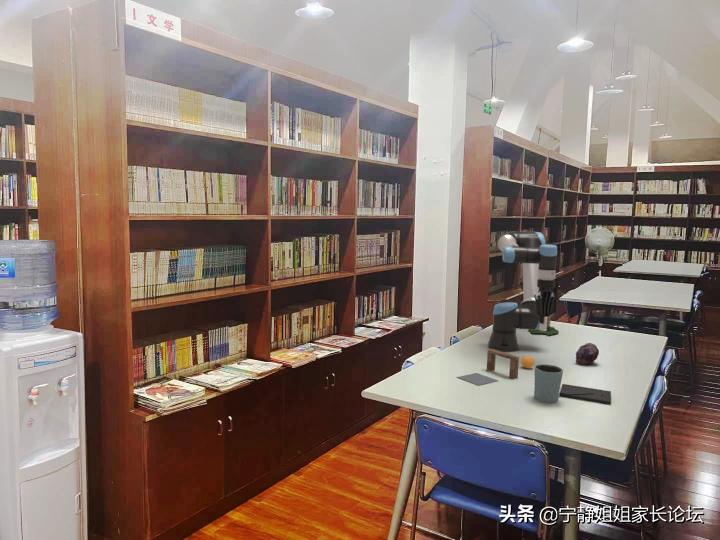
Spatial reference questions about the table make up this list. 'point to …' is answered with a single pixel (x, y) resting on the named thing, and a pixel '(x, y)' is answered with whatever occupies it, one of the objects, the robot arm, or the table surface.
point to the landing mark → (477, 379)
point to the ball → (527, 362)
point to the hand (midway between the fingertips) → (542, 330)
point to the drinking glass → (547, 383)
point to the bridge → (513, 359)
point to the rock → (587, 354)
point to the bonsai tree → (549, 329)
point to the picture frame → (585, 394)
